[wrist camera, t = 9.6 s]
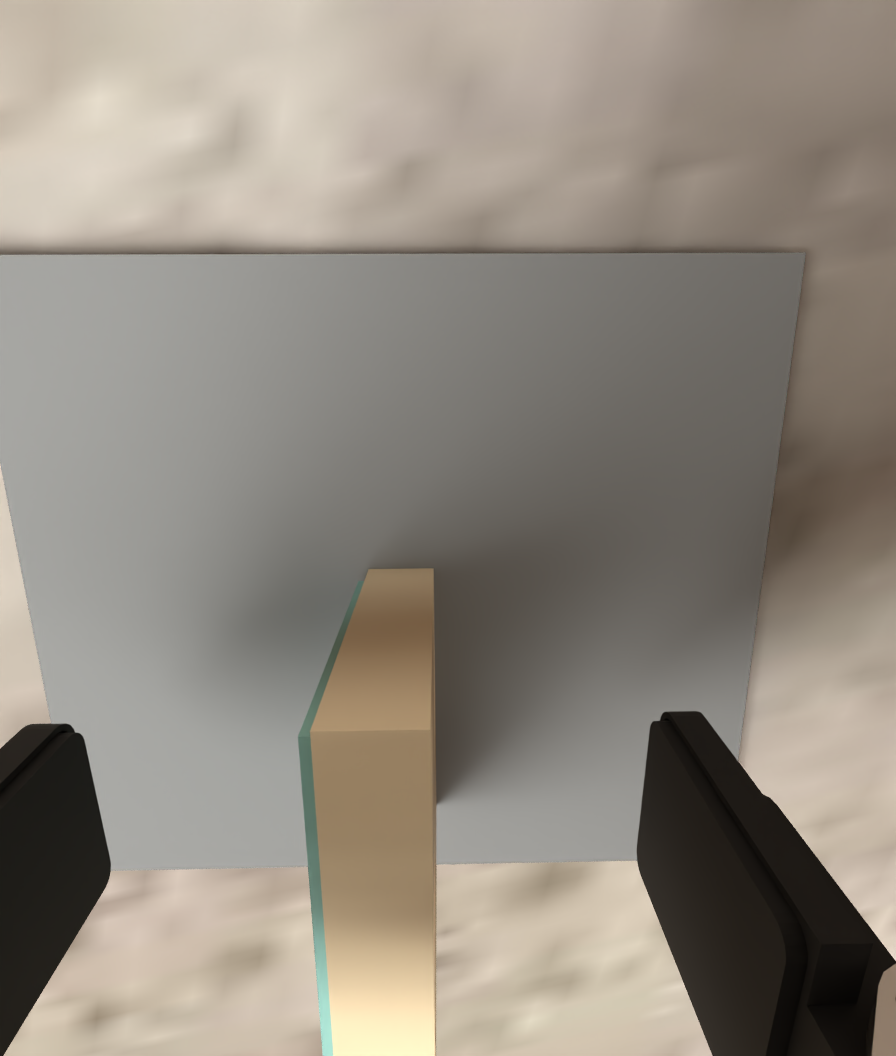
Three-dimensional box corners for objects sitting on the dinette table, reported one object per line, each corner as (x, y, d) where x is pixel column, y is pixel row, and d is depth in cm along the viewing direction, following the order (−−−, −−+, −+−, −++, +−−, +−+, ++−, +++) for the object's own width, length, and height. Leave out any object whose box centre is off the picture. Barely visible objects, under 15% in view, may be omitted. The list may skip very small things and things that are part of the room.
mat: (-17, 261, 12) (-41, 254, 11) (787, 259, 12) (806, 252, 11) (93, 851, 15) (80, 871, 14) (714, 840, 15) (725, 858, 15)
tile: (369, 806, 14) (359, 569, 13) (436, 805, 14) (433, 568, 13) (323, 1105, 8) (292, 731, 7) (436, 1103, 8) (430, 729, 7)
